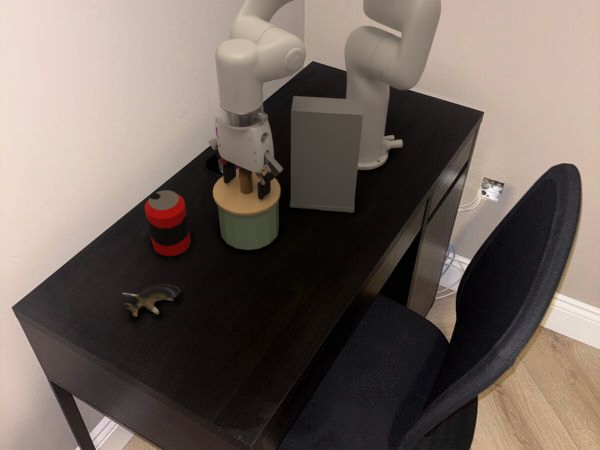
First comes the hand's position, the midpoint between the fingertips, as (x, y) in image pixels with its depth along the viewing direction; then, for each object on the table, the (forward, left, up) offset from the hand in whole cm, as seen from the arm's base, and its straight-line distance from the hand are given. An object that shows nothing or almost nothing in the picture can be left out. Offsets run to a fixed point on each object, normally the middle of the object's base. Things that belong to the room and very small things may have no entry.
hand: (247, 187), depth 118 cm
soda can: (+16, +1, -12) cm, 20 cm away
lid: (0, 0, -1) cm, 1 cm away
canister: (0, 0, -12) cm, 12 cm away
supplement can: (0, -21, -12) cm, 24 cm away
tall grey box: (-17, -6, -12) cm, 22 cm away
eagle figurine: (+20, +17, -12) cm, 29 cm away
